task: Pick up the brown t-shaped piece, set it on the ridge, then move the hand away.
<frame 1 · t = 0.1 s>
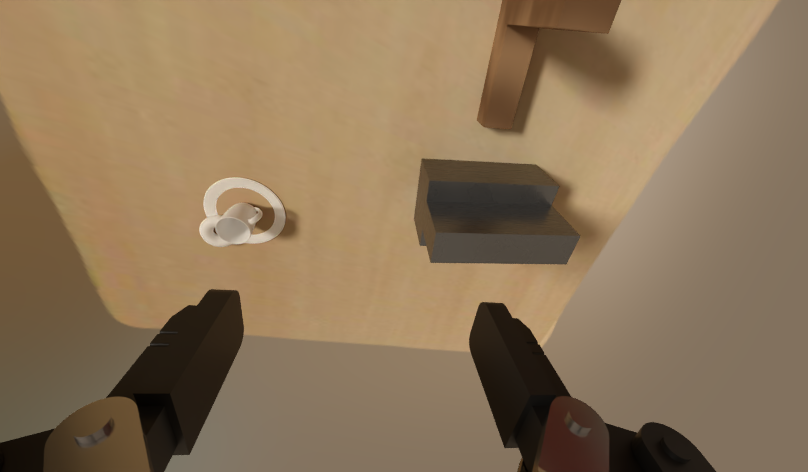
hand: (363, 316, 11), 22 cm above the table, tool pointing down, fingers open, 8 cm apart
ridge: (472, 192, 34), on the table
teacup and saucer: (216, 196, 32), on the table
brown t-shaped piece: (516, 2, 25), on the table
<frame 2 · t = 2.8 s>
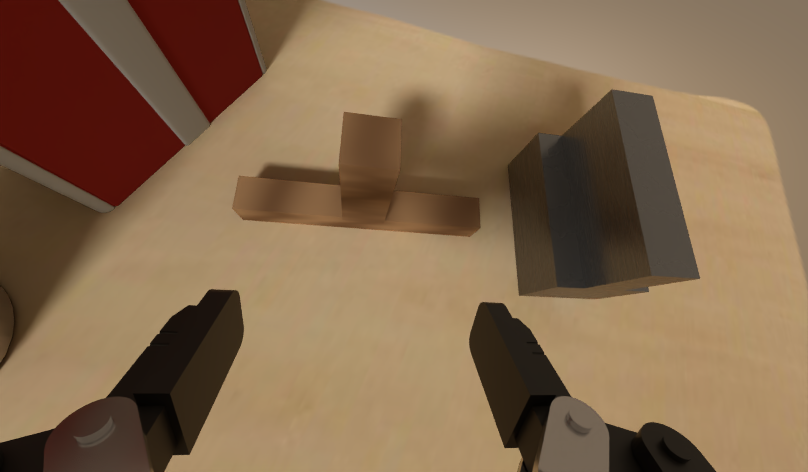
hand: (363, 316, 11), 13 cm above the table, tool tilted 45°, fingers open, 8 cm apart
ridge: (549, 229, 28), on the table
red grey tall box: (117, 82, 26), on the table
brown t-shaped piece: (363, 214, 26), on the table
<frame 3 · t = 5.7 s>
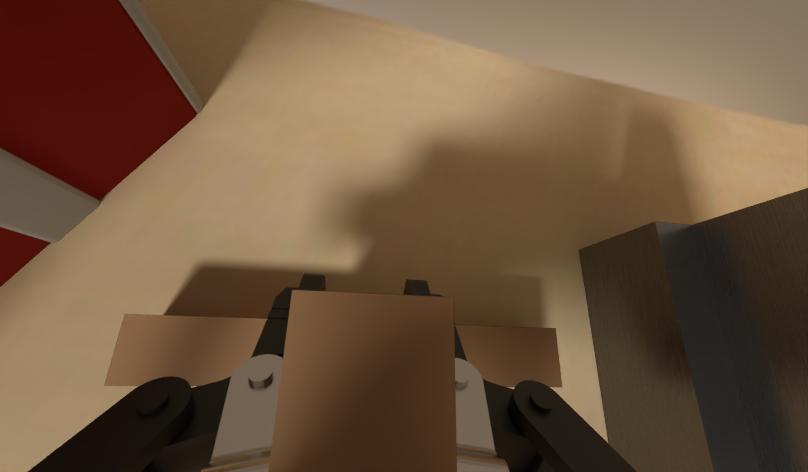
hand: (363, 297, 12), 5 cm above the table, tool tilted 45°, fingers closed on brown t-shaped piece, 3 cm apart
ridge: (651, 356, 18), on the table
brown t-shaped piece: (357, 350, 15), on the table, touching gripper
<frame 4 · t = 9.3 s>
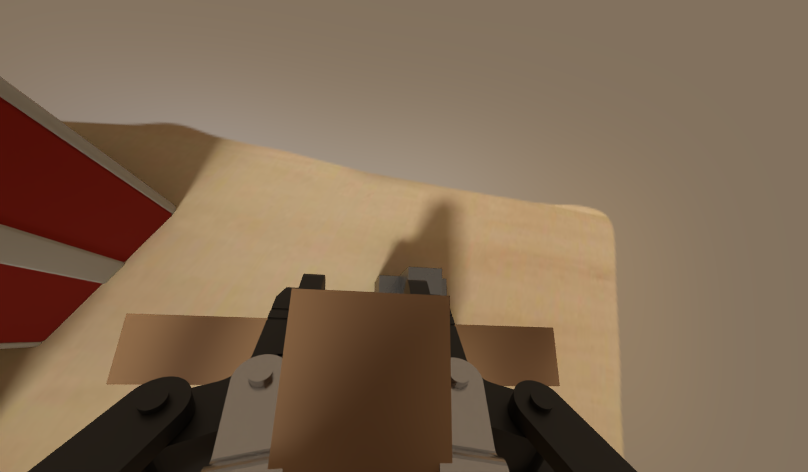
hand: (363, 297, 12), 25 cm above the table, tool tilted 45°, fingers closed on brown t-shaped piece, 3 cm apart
ridge: (403, 337, 35), on the table
red grey tall box: (49, 229, 32), on the table
brown t-shaped piece: (357, 349, 15), point 20 cm above the table, touching gripper
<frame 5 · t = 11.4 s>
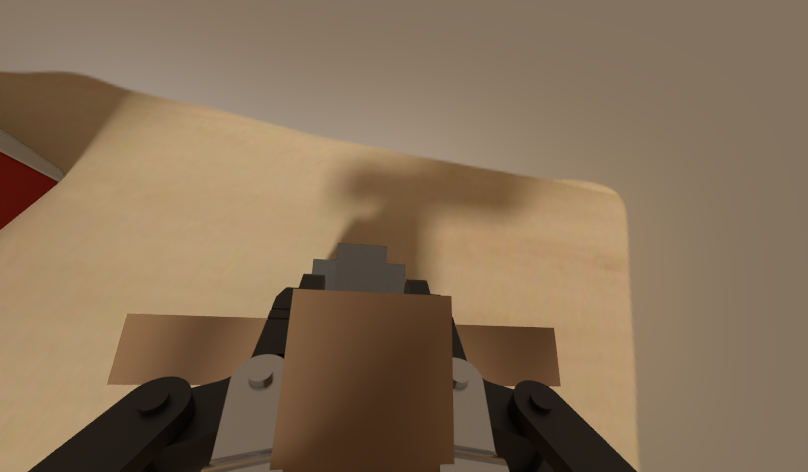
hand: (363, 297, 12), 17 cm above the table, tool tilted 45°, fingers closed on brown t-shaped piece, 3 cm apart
ridge: (353, 341, 27), on the table
brown t-shaped piece: (358, 349, 15), point 12 cm above the table, touching gripper
when the fingers open (15 cm above the table, at t = 12.9 s): brown t-shaped piece stays where it is, resting on ridge.
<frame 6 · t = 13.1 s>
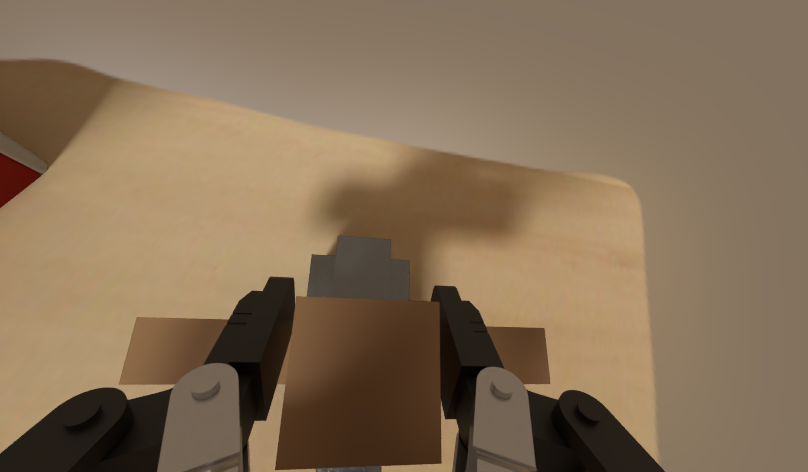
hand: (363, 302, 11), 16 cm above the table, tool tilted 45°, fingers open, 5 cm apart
ridge: (354, 343, 25), on the table
brown t-shaped piece: (356, 349, 16), point 10 cm above the table, touching ridge
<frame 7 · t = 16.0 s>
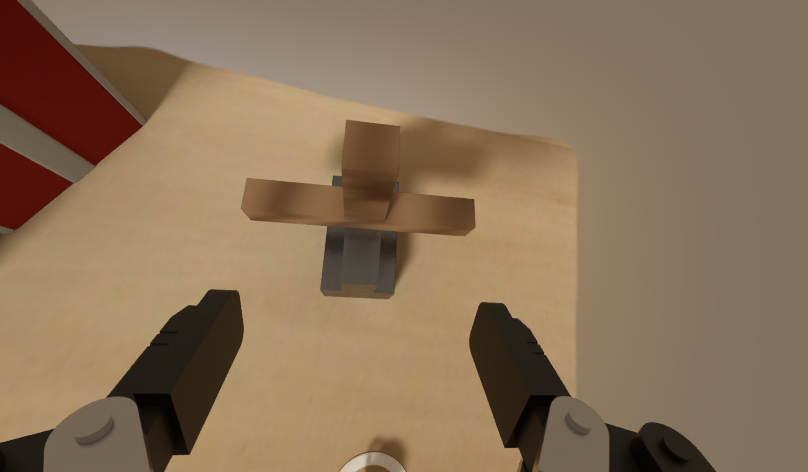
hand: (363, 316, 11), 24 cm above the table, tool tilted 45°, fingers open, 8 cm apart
ridge: (360, 245, 36), on the table
red grey tall box: (26, 134, 34), on the table
brown t-shaped piece: (364, 214, 27), point 10 cm above the table, touching ridge
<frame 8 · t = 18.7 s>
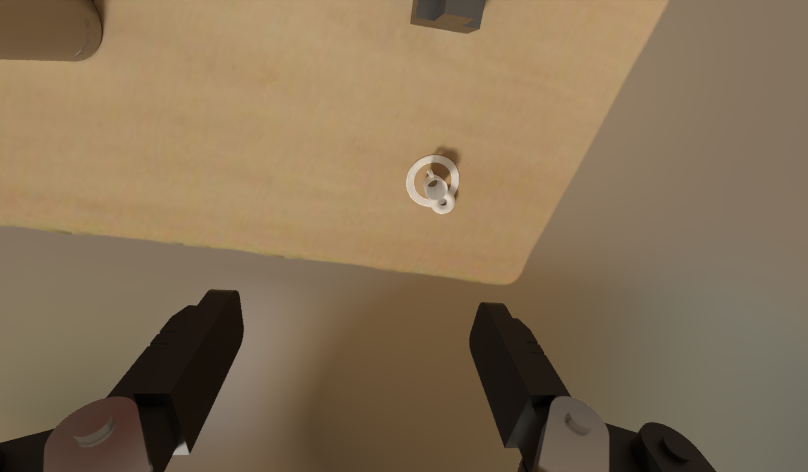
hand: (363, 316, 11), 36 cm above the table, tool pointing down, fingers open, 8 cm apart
teacup and saucer: (420, 196, 48), on the table
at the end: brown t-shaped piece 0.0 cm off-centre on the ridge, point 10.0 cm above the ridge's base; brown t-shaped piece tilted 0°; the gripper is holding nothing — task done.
